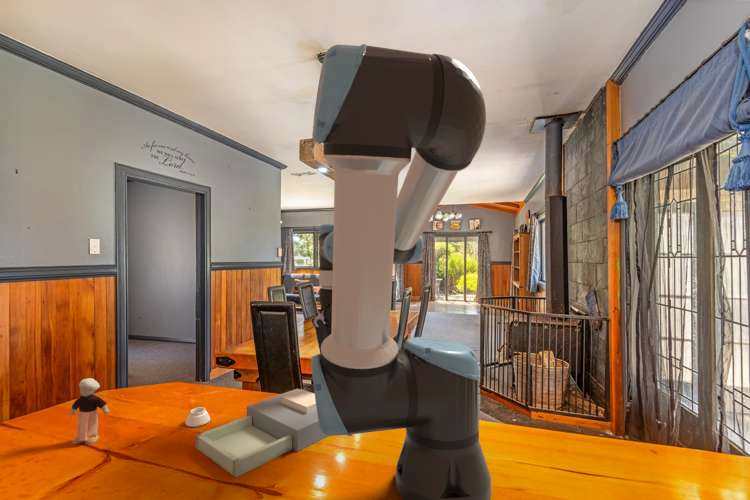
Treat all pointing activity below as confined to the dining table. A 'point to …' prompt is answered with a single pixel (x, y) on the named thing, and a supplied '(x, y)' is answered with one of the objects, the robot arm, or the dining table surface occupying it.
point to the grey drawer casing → (286, 421)
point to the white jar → (197, 417)
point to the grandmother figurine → (88, 412)
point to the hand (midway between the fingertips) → (335, 383)
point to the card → (300, 401)
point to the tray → (241, 446)
